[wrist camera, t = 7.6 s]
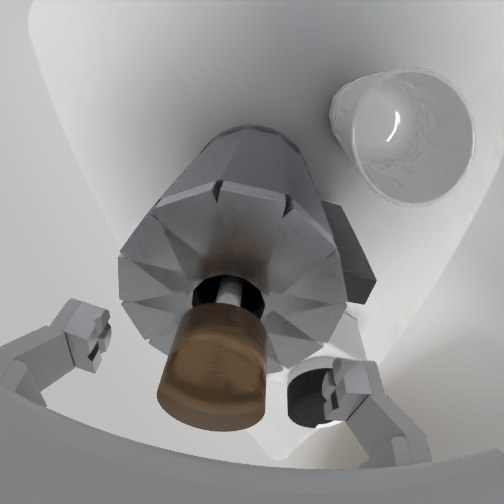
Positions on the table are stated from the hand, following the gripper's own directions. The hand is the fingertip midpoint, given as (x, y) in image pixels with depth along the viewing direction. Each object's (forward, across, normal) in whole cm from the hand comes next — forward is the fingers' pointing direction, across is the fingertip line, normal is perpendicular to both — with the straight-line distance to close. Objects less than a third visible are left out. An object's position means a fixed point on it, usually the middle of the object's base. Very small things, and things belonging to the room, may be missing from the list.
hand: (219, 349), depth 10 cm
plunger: (+16, 0, 0) cm, 16 cm away
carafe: (+18, -1, 0) cm, 18 cm away
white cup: (+19, -8, -8) cm, 22 cm away
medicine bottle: (+19, -10, +14) cm, 25 cm away
